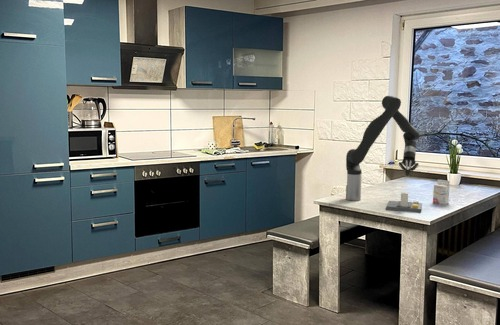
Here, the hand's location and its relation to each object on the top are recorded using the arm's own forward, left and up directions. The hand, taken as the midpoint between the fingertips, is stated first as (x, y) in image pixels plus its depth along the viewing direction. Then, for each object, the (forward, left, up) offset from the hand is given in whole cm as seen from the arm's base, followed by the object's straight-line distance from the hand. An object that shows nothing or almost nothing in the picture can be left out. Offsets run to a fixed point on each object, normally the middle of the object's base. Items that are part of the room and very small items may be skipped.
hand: (407, 175), depth 325 cm
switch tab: (0, -26, -15) cm, 30 cm away
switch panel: (0, -21, -17) cm, 27 cm away
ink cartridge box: (+21, +3, -18) cm, 27 cm away
